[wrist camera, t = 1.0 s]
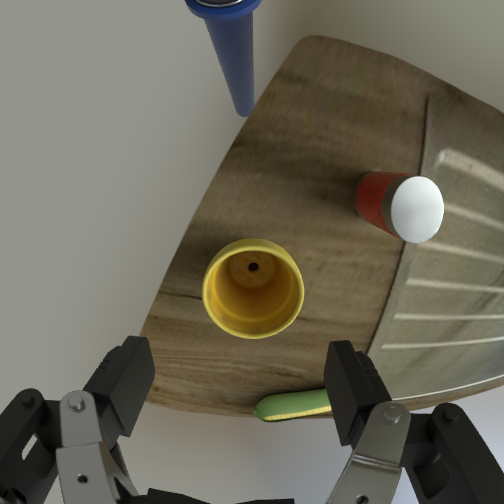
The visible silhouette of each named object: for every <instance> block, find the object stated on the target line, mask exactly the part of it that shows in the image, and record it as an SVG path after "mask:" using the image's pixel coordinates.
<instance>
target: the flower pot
mask: <svg viewBox="0 0 504 504" xmlns="http://www.w3.org/2000/svg"><path fill="white" fill-rule="evenodd" d="M253 262H254V263H257V264H258V269H257V270H256V271H252V270H250V269H249V265H250V264H251V263H253ZM303 299H304V285H303V280H302V277H301V274H300V272H299V270H298V267H297V266H296V264H295V262H294V261H293V259H292V258H291V256H290V255H289V254H288V253H287V252H286V251H285V250H284V249H283V248H281V247H280V246H278V245H277V244H275V243H273V242H270V241H267V240H264V239H257V238H248V239H241V240H238V241H235V242H232V243H230V244H228V245H227V246H225V247H224V248H222V249H221V250H220V251H219V252H218V253H217V254H216V255H215V256H214V258H213V259H212V261H211V262H210V264H209V266H208V268H207V270H206V273H205V275H204V278H203V282H202V300H203V304H204V307H205V309H206V311H207V313H208V315H209V317H210V318H211V319H212V320H213V322H214V323H215V324H216V325H217V326H219V327H220V328H221V329H222V330H224V331H226V332H228V333H229V334H232V335H234V336H237V337H241V338H247V339H258V338H264V337H268V336H271V335H274V334H276V333H278V332H280V331H282V330H283V329H285V328H286V327H287V326H289V325H290V324H291V323H292V322H293V320H294V319H295V318H296V316H297V315H298V313H299V311H300V309H301V306H302V303H303Z"/></svg>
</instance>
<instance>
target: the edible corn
mask: <svg viewBox="0 0 504 504" xmlns="http://www.w3.org/2000/svg"><path fill="white" fill-rule="evenodd" d="M330 410H332V409H331V406H330V402H329V399H328V395H327V392H326V389H318V390H310V391H301V392H292V393H283V394H276V395H270V396H266V397H265V398H263V399H262V400H261V401H260V402H259V403H258V404H257V405H256V409H254V416H257V417H258V418H259V419H260V420H262V421H264V422H281V421H287V420H292V419H297V418H301V417H306V416H310V415H314V414H318V413H322V412H326V411H330Z"/></svg>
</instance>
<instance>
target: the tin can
mask: <svg viewBox="0 0 504 504" xmlns="http://www.w3.org/2000/svg"><path fill="white" fill-rule="evenodd" d="M351 201H352V205H353V208H354V210H355V212H356V213H357V214H358V215H359V216H360V217H361V218H363V219H364V220H366V221H367V222H369V223H370V224H372V225H374V226H376V227H378V228H380V229H382V230H384V231H386V232H388V233H389V234H391V235H393V236H395V237H397V238H400V239H403V240H404V241H406V242H409V243H414V244H417V243H422V242H425V241H427V240H428V239H430V238H431V237H432V236H433V235H434V234H435V233H436V231H437V230H438V228H439V226H440V224H441V221H442V218H443V210H444V207H443V199H442V196H441V193H440V191H439V189H438V187H437V186H436V185H435V184H434V182H432V181H431V180H430V179H428V178H426V177H423V176H416V175H413V174H405V173H391V172H369V173H366V174H364V175H362V176H361V177H359V178H358V179H357V181H356V182H355V184H354V186H353V188H352V192H351Z"/></svg>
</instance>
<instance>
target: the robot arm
mask: <svg viewBox="0 0 504 504" xmlns="http://www.w3.org/2000/svg"><path fill="white" fill-rule="evenodd" d="M195 1H196V2H197V3H198V4H200V5H202V6H204V7H208V8H216V9H221V8H229V7H233V6H236V5H239V4H241V3H243V2H245V1H246V0H195ZM154 376H155V366H154V362H153V358H152V354H151V350H150V345H149V341H148V339H147V338H146V337H138V336H128V337H127V339H126V340H125V341H124V343H123V344H122V346H116V347H115V348H114V349H112V350H111V351H109V352H108V353H107V355H106V356H105V358H104V359H103V362H101V363H100V365H99V366H98V368H97V369H96V371H95V372H94V373H93V375H92V377H91V378H90V379H89V381H88V383H87V384H86V385H85V387H84V388H83V390H77V391H72V392H70V393H68V394H66V395H65V396H64V397H63V398H62V400H61V401H54V400H45V399H44V398H43V396H42V394H41V393H40V392H39V391H38V390H36V389H32V388H30V389H25V390H23V391H21V392H20V393H18V394H17V395H16V397H15V398H14V399H13V400H12V401H11V402H10V404H9V405H8V406H7V407H6V409H5V410H4V411H3V412H2V413H1V415H0V504H43V503H44V501H45V499H46V497H47V495H48V493H49V491H50V489H51V487H52V485H53V483H54V481H55V479H56V477H57V475H59V481H60V487H61V492H62V497H63V501H64V504H210V503H207V502H203V501H200V500H197V499H194V498H192V497H189V496H186V495H183V494H178V493H172V492H167V491H162V490H157V489H152V488H149V490H148V493H147V495H139V494H138V492H137V490H136V488H135V487H134V485H133V483H132V481H131V479H130V476H129V474H128V471H127V468H126V465H125V462H124V459H123V456H122V454H121V451H120V447H119V444H118V442H117V439H118V437H119V435H122V436H126V437H130V435H131V433H132V430H133V428H134V425H135V423H136V421H137V418H138V416H139V413H140V410H141V409H142V406H143V404H144V401H145V399H146V397H147V394H148V392H149V390H150V387H151V385H152V383H153V380H154ZM324 384H325V388H326V392H327V395H328V399H329V402H330V406H331V409H332V413H333V417H334V420H335V424H336V428H337V432H338V435H339V439H340V443H341V446H347V445H351V447H352V450H353V451H352V453H351V455H350V458H349V459H348V462H347V464H346V466H345V468H344V470H343V472H342V473H341V476H340V477H339V479H338V481H337V483H336V485H335V487H334V488H333V490H332V492H331V493H330V495H329V497H328V498H327V500H326V502H325V503H324V504H391V502H392V499H393V497H394V494H395V491H396V488H397V485H398V482H399V479H400V476H401V472H402V468H401V467H405V469H406V472H407V474H408V476H409V479H410V482H411V484H412V486H413V489H414V492H415V494H416V497H417V499H418V502H419V504H504V473H503V471H502V469H501V468H500V466H499V464H498V463H497V461H496V459H495V458H494V456H493V454H492V453H491V451H490V450H489V448H488V446H487V445H486V443H485V442H484V440H483V439H482V437H481V435H480V434H479V432H478V431H477V430H476V428H475V427H474V425H473V424H472V422H471V421H470V419H469V418H468V416H467V415H466V414H465V412H464V411H463V409H462V408H460V407H459V406H458V405H456V404H452V403H442V404H439V405H438V406H436V407H435V409H434V410H433V412H432V414H414V413H410V412H409V411H408V409H407V408H406V407H405V406H403V405H402V404H400V403H397V402H393V401H392V399H391V397H390V395H389V393H388V391H387V389H386V387H385V385H384V383H383V381H382V379H381V377H380V376H379V374H378V372H377V370H376V369H375V366H374V364H373V362H372V361H371V359H370V358H369V357H368V356H367V355H366V354H364V353H363V352H362V351H358V352H355V350H354V348H353V346H352V344H351V342H350V341H349V340H343V341H331V342H330V343H329V347H328V353H327V358H326V363H325V369H324ZM33 434H34V436H35V437H36V438H37V441H36V442H35V444H34V445H33V447H32V449H31V450H30V452H29V454H28V455H27V456H26V458H25V460H24V461H23V459H22V451H23V449H24V448H25V446H26V445H27V443H28V441H29V440H30V438H31V437H32V435H33ZM237 504H294V499H274V500H254V501H249V502H243V503H237Z"/></svg>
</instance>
